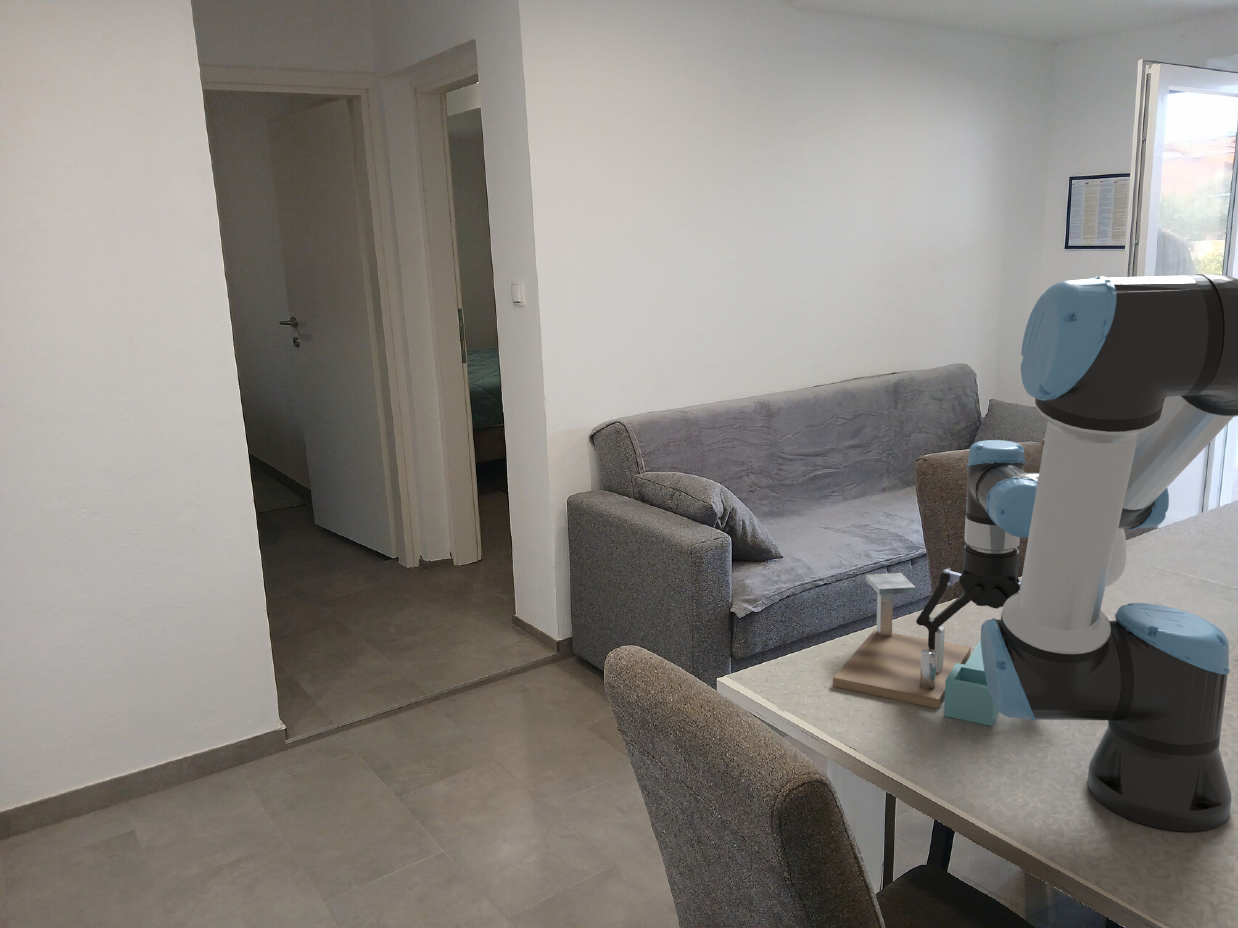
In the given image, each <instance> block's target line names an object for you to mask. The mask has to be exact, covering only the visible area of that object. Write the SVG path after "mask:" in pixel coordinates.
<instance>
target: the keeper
mask: <svg viewBox="0 0 1238 928" xmlns="http://www.w3.org/2000/svg"><path fill="white" fill-rule="evenodd" d="M865 581H866V582H867V583H868V585H870V586H871V587H872V589H873V590H874V591H875V592H876V595H877V596H876V598H877V601H876V630H877V633H878V635H879V636H880V637H884V636H892V633H893V610H894V609H893V605H894V603H893V602H894V595H900V594H901V595H903V594H916V592H917V587H916V586H915V584H913V583H912V581H910V580H909V579H908V578H907V577H906V576H905V575H904V574H903V573H902V572H893V573H892V572H890V573H875V574H865Z"/></svg>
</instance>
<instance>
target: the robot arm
mask: <svg viewBox="0 0 1238 928" xmlns="http://www.w3.org/2000/svg"><path fill="white" fill-rule="evenodd" d="M1020 355H1021V356H1022V361H1021V364H1020V373H1021V375H1020V376H1021V380H1022V381H1021V382H1022V385H1023V387H1024V389H1025V392H1026V393H1027V394H1028V395H1029V396H1030V397H1032V398H1035V400H1034V405H1035V408H1036V410H1037V411H1038V412H1039V413H1040V414H1041V416H1042V417H1044V419H1045V420H1046V421H1047V424H1046V429H1045V436H1044V442H1043V447H1042V453H1041V460H1040V465H1039V472H1026V471H1025V466H1026V461H1025V449H1024V447H1023V445H1021V444H1019V443H1018V442H1015V441H1010V440H1002V439H990V440H989V439H988V440H980V441H976V442H974V443H973V444H972V445H971V446H970V447H969V448H968V449H969V450H968V451H969V452H968V458H967V459H968V461H967V464H966V468H967V478H966V479H967V480H966V481H967V482H966V501H965V503H966V504H965V506H966V507H965V508H966V509H965V510H966V511H965V520H964V521H965V524H964V542H965V543H966V544H965V545H964V548H963V564H962V565H963V566H962V567H963V568H962V569H963V570H962V573H960V572H956V571H953V569H952V568H950V567H945V569H943V571H942V573H940V576H939V577H940V578H939V584H938V586H937V587H936V589H935V590H934V592H933V594H932V596H931V597H930V599H929V600H928V601H927V603H926V605H925V606H924V608H923V609H922V611H921V613H920V614H919V615H918V617H917V618H916V620H915V621H916V625H918V626H924V627H925V628H927V631H928V637H927V639H928V647H929V649H932V650H935V651H936V652H937V658H936V672H937V673H939V672H940V670H941V669H942V667H943V657H944V642H945V627H944V626H943V624H945V623H946V622H947V621H948V620H949V619H951V618H952V617H953V616H954V615H955V614H956V613H957V612H959V611H960V610H961V609H962V608H963V607H966V606H967V605H968V604H969V603H971V601H972V603H974V604H975V605H976V606H977V607H986V606H987V607H989V608H992V609H995V610H996V609H997V610H998V609H999V608H1002V610H1001V617H1000V619H997V618H994V617H992V618H991V619H986V620H985V621H984V622H983V623H982V625H981V627H980V639H981V651H982V659H983V666H984V671H985V677H986V681H987V685H988V689H989V692H990V696H991V699H992V701H993V703H994V705H995V707H996V709H997V710H998V711H999V713H1000V714H1001V715H1003V716H1005V717H1007V718H1013V719H1022V720H1023V719H1024V720H1031V721H1037V720H1040V721H1041V720H1043V721H1044V720H1051V721H1052V720H1053V721H1055V720H1056V721H1058V720H1060V721H1061V720H1065V721H1066V720H1067V721H1108V722H1107V723H1108V725H1107V728H1106V729H1105V732H1104V733H1103V736H1102V738H1101V740H1100V742H1099V744H1098V745H1097V747H1096V750H1095V751H1094V754H1093V755H1092V757H1091V760H1090V762H1089V764H1088V765H1089V766H1088V773H1087V774H1088V775H1087V786H1088V789H1089V791H1090V793H1091V794H1092V795H1093V797H1094V798H1095V799H1096V800H1097V801H1098V802H1099V803H1101V804H1102V805H1103V806H1104V807H1105V808H1107V809H1108V810H1111V811H1112V812H1114V813H1116V814H1117V815H1120V816H1121V817H1124V818H1125V819H1128V820H1130V821H1133V822H1136V823H1139V824H1142V825H1144V826H1145V825H1146V826H1148V827H1153V828H1157V829H1162V830H1166V831H1167V830H1168V831H1176V832H1202V831H1206V830H1207V831H1208V830H1211V829H1215V828H1217V827H1219V826H1221V825H1223V824H1224V823H1225V822H1226V821H1227V820H1228V819H1229V817H1230V813H1231V804H1232V791H1231V787H1230V783H1229V780H1228V777H1227V773H1226V770H1225V766H1224V762H1223V758H1222V755H1221V751H1220V741H1221V732H1222V723H1223V716H1224V707H1225V698H1226V690H1227V682H1228V674H1230V671H1231V670H1230V669H1231V668H1230V662H1229V661H1230V658H1229V657H1230V656H1229V655H1230V654H1229V653H1230V652H1229V651H1230V646H1229V645H1230V643H1229V640H1228V638H1227V636H1226V634H1225V633H1224V632H1223V630H1221V629H1220V628H1219V627H1218V626H1217V625H1216V624H1214V623H1212V622H1210V621H1209V620H1207V619H1205V618H1203V617H1201V616H1199V615H1195V614H1194V613H1190V612H1188V611H1184V610H1181V609H1178V608H1174V607H1170V606H1165V605H1161V604H1155V603H1154V604H1153V603H1146V602H1130V603H1127V604H1123V605H1121V606H1120V607H1118V609H1117V611H1116V613H1115V614H1114V619H1115V620H1109V618H1108V617H1107V615H1106V614H1105V613H1104V611H1103V610H1102V603H1103V599H1104V594H1105V590H1106V587H1105V586H1106V581H1107V577H1108V572H1109V568H1110V563H1111V559H1112V554H1113V550H1114V545H1115V540H1116V536H1117V531H1118V529H1124V530H1128V531H1130V530H1132V531H1133V530H1137V529H1146V528H1148V529H1149V528H1154V527H1156V528H1157V526H1160V525H1161V524H1162V523H1163V522H1164V521H1165V519H1166V513H1167V512H1168V510H1169V505H1170V504H1169V503H1170V502H1169V501H1170V500H1169V499H1170V497H1169V496H1170V495H1169V490H1168V487H1169V486H1170V485H1171V484H1172V483H1173V481H1175V480H1176V479H1177V478H1178V476H1180V475H1181V474H1182V472H1183V471H1184V470H1185V469H1187V467H1188V466H1189V465H1190V464H1191V463H1192V462H1193V461H1194V460H1195V459H1196V458H1197V457H1198V456H1199V455H1200V453H1201V452H1203V450H1205V448H1206V447H1207V446H1208V445H1209V444H1210V442H1212V441H1213V440H1214V438H1215V437H1217V435H1218V434H1220V433H1221V431H1223V429H1224V428H1225V427H1226V426H1227V425H1228V424H1229V423H1230V422H1231V421H1232V420H1233V418H1235V417H1238V278H1236V277H1234V276H1233V277H1232V276H1230V275H1224V274H1214V273H1201V274H1195V275H1193V274H1192V275H1161V276H1160V275H1157V276H1154V275H1153V276H1125V277H1124V276H1123V277H1107V276H1104V275H1101V276H1098V275H1097V276H1093V277H1089V278H1083V279H1073V280H1072V279H1071V280H1070V279H1069V280H1063V281H1060V282H1059V281H1058V282H1057V283H1055V284H1052V285H1051V286H1050V287H1048V288H1047V289H1046V290H1045V291H1044V292H1043V293H1042V294H1041V295H1040V296H1039V297H1038V299H1037V301H1036V303H1034V306H1033V308H1032V310H1031V312H1030V314H1029V318H1028V320H1027V323H1026V327H1025V330H1024V334H1023V339H1022V344H1021V353H1020ZM1020 538H1023V539H1025V538H1026V539H1027V538H1028V539H1027V545H1026V551H1025V556H1024V560H1023V561H1024V564H1023V568H1022V573H1021V579H1019V576H1018V574H1019V573H1018V572H1019V557H1020V556H1019V555H1020V551H1019V549H1018V548H1017V547H1019V546H1020ZM956 582H959V584H960V586H961V587H962V589H963V590H964V591H963V593H961V594H960V596H958V597H957V598H956V599H955V600H953V602H951V603H950V604H949V605H948V606H946V607H945V608H944V609H943V610H942V611H941V612H940V613H939V614H937V615H936V616H935V617H931V614H932V613H933V611H934V609H936V607H937V605H938V604H939V603H940V600H941V599H942V598H943V596H944V594H945V593H946V591H947V590H948V588H949V587H952V586H954V585H955V584H956Z"/></svg>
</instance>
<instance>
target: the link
mask: <svg viewBox="0 0 1238 928" xmlns="http://www.w3.org/2000/svg"><path fill="white" fill-rule="evenodd" d="M943 703H944V704H943V705H944V706H943V707H944V708H943V716H944V717H948V718H952V719H958V720H961V721H965V722H972V723H976V724H981V725H984V726H985V725H986V726H989V727H993V725H994V724H995V721H996V719H997V716H998V714H999V713H1000V712H999V711H998V710H997V709H996V707H995V705H994V703H993V701H992V699H991V696H990V692H989V689H988V685H987V681H986V677H985V671H984V666H983V659H982V651H981V638H980V639H979V641H978V643H977V645H976V646H975V648H974V649H973V651H972V653H971V655H970V657H969V659H968V660H967V662H966V664H965V665H964V664H959V663H956V664H955V666H954V667H953V669H952V671H951V672H950V674H949V675H948V677H947V679H946V680H945V699H944V701H943Z"/></svg>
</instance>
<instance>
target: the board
mask: <svg viewBox="0 0 1238 928" xmlns="http://www.w3.org/2000/svg"><path fill="white" fill-rule="evenodd" d="M924 649H929V647H928V638H923V637H918V636H911V635H906V634H901V633H895V632H892V636H884V637H880V636H879V635H878V633H877V629H874V630H873V631H872V632H871V633H870V634H869V636H868V637H866V639H865V640H864V641H863V642H862V644H861V645H859V647H858V648H857V649H856V650H855V651H854V653H852V654H851V656H850V657H849V658H848V660H847V661H846V662H844V664H843V665H842V666H841V668H840V669H839V670H838V671H837V672H836V673H835V675H834V676H832V687H833V688H834V687H835V688H838V689H839V688H840V689H844V690H849V691H853V692H858V693H862V694H867V695H872V696H877V697H881V698H886V699H890V700H895V701H900V702H905V703H909V704H914V705H920V706H923V707H929V708H933V709H936V710H937V709H938V710H939V709H940V707H941V705H942V704H943V703H944V701H945V680H946V679H947V677H948V675H949V674H950V672H951V671H952V669H953V667H954V666H955V664H956V663H959V664H964V665H965V664H966V663H967V661H968V659H969V658H970V656H971V654H972V653H971V651H972V646H969V645H963V644H957V643H951V642H946V641H944V657H943V667H942V669H941V670H940V672H939V673H937V672H936V685H935V688H934V689H931V690H928V689H923V688H921V687H920V672H921V651H922V650H924ZM931 650H932V649H931ZM934 651H935V650H934Z"/></svg>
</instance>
